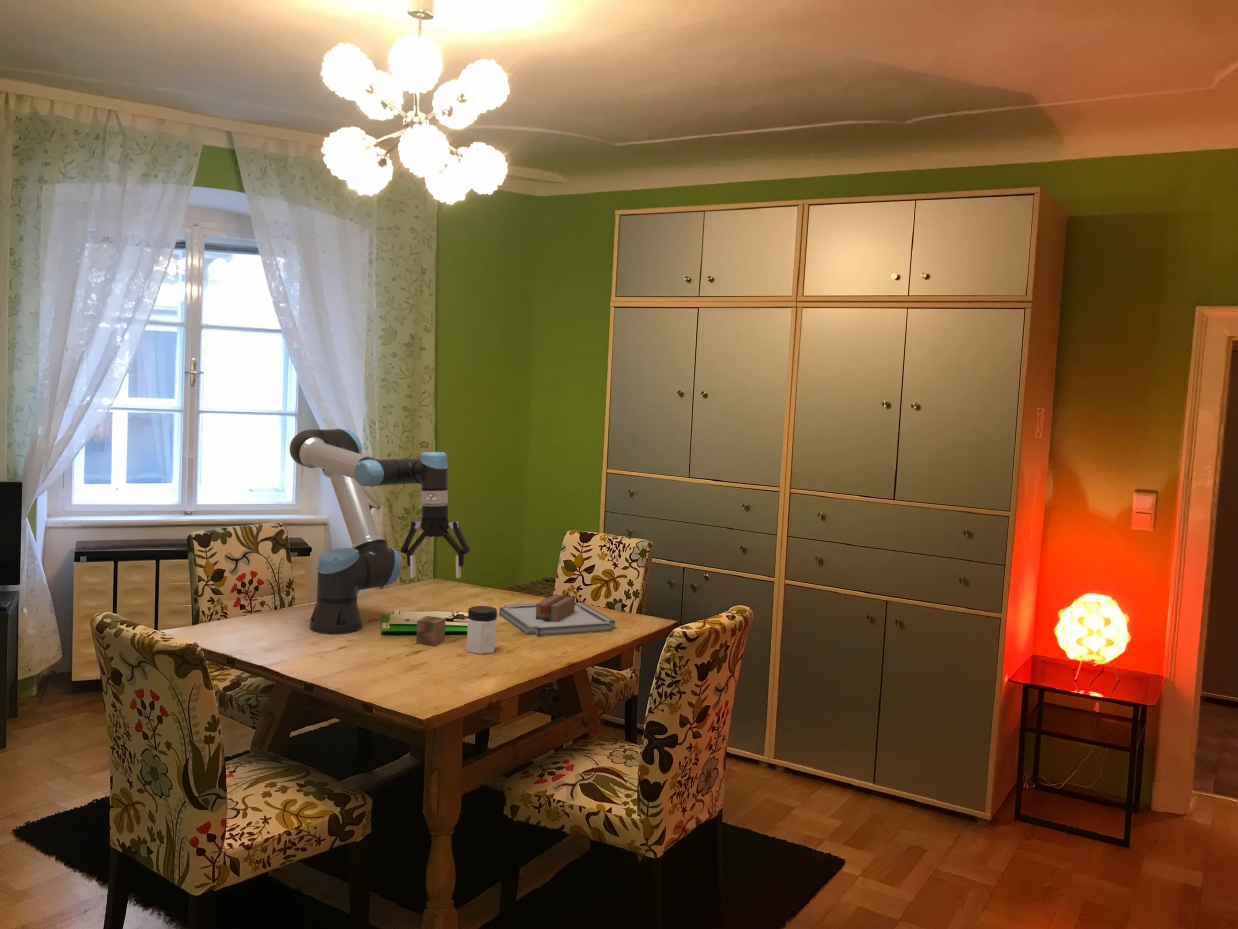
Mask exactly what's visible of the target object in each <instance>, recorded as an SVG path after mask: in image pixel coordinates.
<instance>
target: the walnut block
mask: <svg viewBox="0 0 1238 929" xmlns="http://www.w3.org/2000/svg"><path fill="white" fill-rule="evenodd" d="M445 634H446V618H445V617H438V616H431V615H426V616H424V617H422V618H420V619H417V621H416V639H415V640H416V641H415V642H416V645H422V646H427V647H428V646H429V647H433V648H434V647H437V646H440V645H441V644H442V643H445V638H446V636H445Z"/></svg>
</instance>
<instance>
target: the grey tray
mask: <svg viewBox="0 0 1238 929" xmlns="http://www.w3.org/2000/svg"><path fill="white" fill-rule="evenodd" d="M498 613H499V614H498V615H499V616H500V617H502V618H503V619H504V620H505V621H507V622H509V623H510V624H511V625H513V626H514V627H515V628H517V629H518V630H520V631H521V632H522V631H523V633H524V634H525V633H526V634H525V635H527V636H529V635H528V634H532V635H535V634H536V635H537V636H536V635H535V636H536V637H545V636H544V635H551V636H563V634H565V635H576V634H577V633H579V634H588V633H587V632H593V633H601V632H600V631H607V632H612V630H614V629H615V628H616V620H614V619H612V618H611V617H608V616H607V615H605V614H604V613H602V612H600V611H599V610H596V609H594V608H593V607H590V606H589V605H588V604H586V603H584V602H576V597H575V596H572V595H571V594H566V593H565V594H564V593H563V594H562V595H559V594H552V595H551V596H548V597H547V598H545V599H543V600H541V601H539V602H537V603H524V604H523V603H522V604H520V603H519V604H518V603H517V604H504V606H503V607H502V606H501V607H499V612H498ZM561 634H562V635H561ZM542 635H543V636H542Z"/></svg>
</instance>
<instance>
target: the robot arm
mask: <svg viewBox="0 0 1238 929" xmlns="http://www.w3.org/2000/svg"><path fill="white" fill-rule="evenodd" d="M362 451H363V446H362V442H361V440H360V439H359V436H358V435H357V434H356V433H355V432H354V431H353V430H352V431H351V430H350V429H343V428H342V429H341V428H334V429H333V428H332V429H312V428H311V429H305V430H302V431H300V432H298V433H297V434H295V435H294V436H293V438H292V439H291V442H290V443H289V454H290V456H291V459H292V460H293V461H294V462H295V463H296V464H298V465H300V466H303V467H305V468H309V469H315V468H320V469H321V470H322V473H323V475H324V476H325V477H327V478H330V481H331V485H332V487H333V490H334V494H335V497H336V499H337V502H338V503H337V504H338V506H339V509H340V512H341V515H342V518H343V520H344V523H345V526H346V529H347V530H346V531H347V532H348V536H349V539H350V541H351V544H352V547H341V548H340V547H337V548H331V549H329V550H325V551H324V552H322V553H321V554H320V555H319V558H318V563H317V582H316V584H317V585H316V586H317V588H316V590H317V591H316V604H315V607H314V609H313V612H312V614H311V617H310V621H309V628H310V630H311V631H314V632H317V633H320V634H321V633H322V634H334V635H335V634H348V633H354V632H357V631H359V630H361V629H362V628H363V618H362V614H361V612H360V608H359V604H358V591H362V590H369V589H375V588H384V587H386V586H390V585H392V584H394V583H395V582H397V580H398V579H399V577H400V575H401V571H402V559H401V555H400V553H402V554H405V555H406V562H407V563H406V564H407V566H408V567H410V568H409V569H410V571H409V572H410V573H409V574H410V579H414V578H415V577H417V575H416V574H417V569H416V568H417V563H416V561H417V560H416V559H417V558H416V557H417V556H416V554H415V553H414V552H415V551H416V550H417V548H418V547H419V546H420V545H421V544H422V543H423V541H424V540H425V539H426V538H427V537H429V538H433V537H435V538H441V537H443V539H444V540H445V541H447V543H448V545H450V546H451V548H452V549H453V550H454V552H456V554H457V555H455V579H459V578H461V577H462V567H464V565H465V555H466V554H468V553H470V552H471V549H470V546H469V545H468V542H467V541H466V539H465V537H464V535H463V532H462V530H461V528H460V521H458V520H456V521H453V522H451V521H449V507H448V505H447V504H448V503H449V498H448V494H449V493H448V489H449V488H448V485H449V484H448V467H449V466H448V456H447V453H445V452H443V451H436V452H435V451H425V452H422V453H420V454H421V455H420V458H413V457H412V458H411V457H402V458H389V459H379V458H374V457H371V456H369V455H365V454H363V453H362ZM409 484H411V485H413V484H414V485H415V484H416V485H421V489H420V490H421V504H422V507H421V522H420V521H417V520H414V521H411V523H410V529H409V532H408V534H407V535H406V538H405V539H404V542H403V544H402V546H401V549H400V553H399V551H398V550H397V549H395V548H393V547H389V545H388V542H387V539H386V538H384V537H382V536H380V534H379V531H378V528H377V526H376V525H377V524H376V523H375V520H374V516H373V514H372V511H371V508H370V505H369V502H368V499H367V496H366V493H365V491H364V487H371V488H373V487H380V486H382V487H383V486H394V485H395V486H398V485H409ZM449 527H450V529H451V530H453V532H454V534H455V537H456V538H457V540H458V542H459V544H460V545H459V544H458V542H457V541H456V540H455V538H453V537H452V535H451V533H450V532H449ZM420 528H421V530H422V532H421V533H420V535H419V536H418V538H417V539H416V540H415V541H414V542H413V544H412V545H411V543H412V540H413V539H414V536H416V535H415V534H416V533H417V530H418V529H420ZM410 545H411V546H410Z"/></svg>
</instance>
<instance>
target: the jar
mask: <svg viewBox="0 0 1238 929" xmlns="http://www.w3.org/2000/svg"><path fill="white" fill-rule="evenodd" d="M467 617H468V619H467V631H466V632H467V633H466V634H467V635H466V652H467V653H471V654H476V653H477V654H476V655H485V654H484V653H487V654H494V653H495V651H496V638H497V619H498V618H497V617H498V609H497V608H496V607H493V606H489V605H487V606H486V605H475V606H474V605H473V606H471V607H468V615H467Z"/></svg>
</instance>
